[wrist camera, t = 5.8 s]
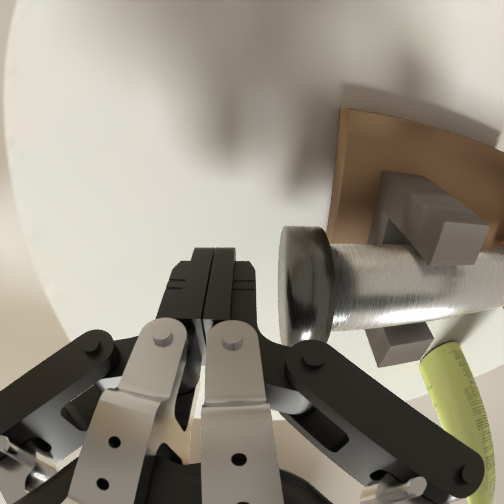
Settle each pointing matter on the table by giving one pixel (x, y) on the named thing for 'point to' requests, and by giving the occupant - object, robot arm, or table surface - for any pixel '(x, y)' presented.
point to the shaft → (374, 285)
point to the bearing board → (414, 155)
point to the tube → (460, 409)
